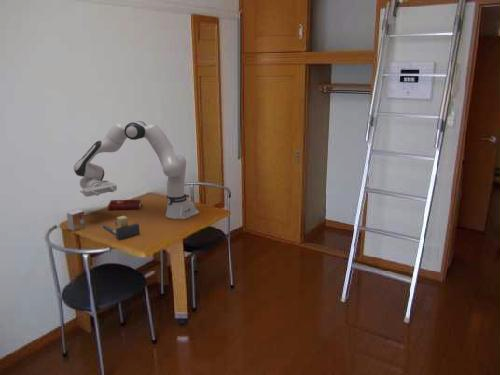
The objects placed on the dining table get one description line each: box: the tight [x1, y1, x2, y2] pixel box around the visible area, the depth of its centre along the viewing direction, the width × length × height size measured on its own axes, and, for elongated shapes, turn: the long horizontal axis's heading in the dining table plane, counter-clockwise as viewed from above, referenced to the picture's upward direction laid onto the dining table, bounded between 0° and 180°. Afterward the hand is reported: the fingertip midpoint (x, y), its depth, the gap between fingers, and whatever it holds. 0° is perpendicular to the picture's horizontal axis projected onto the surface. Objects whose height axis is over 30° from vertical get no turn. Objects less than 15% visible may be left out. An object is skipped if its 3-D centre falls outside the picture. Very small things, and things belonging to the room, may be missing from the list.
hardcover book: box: [107, 199, 143, 212], centre depth 291 cm, size 12×21×4 cm, turn 98°
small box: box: [66, 209, 86, 232], centre depth 252 cm, size 8×6×10 cm
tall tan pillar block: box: [116, 215, 129, 229], centre depth 247 cm, size 4×4×10 cm
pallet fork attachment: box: [102, 221, 140, 241], centre depth 250 cm, size 13×24×6 cm, turn 44°
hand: (105, 192), depth 255 cm, fingers open, 8 cm apart
